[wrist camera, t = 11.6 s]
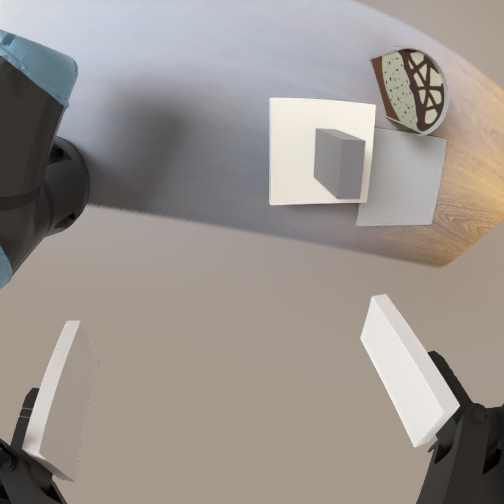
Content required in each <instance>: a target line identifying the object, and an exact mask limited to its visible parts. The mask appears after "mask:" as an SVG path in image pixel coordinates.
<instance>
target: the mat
mask: <svg viewBox="0 0 504 504" xmlns="http://www.w3.org/2000/svg"><path fill="white" fill-rule="evenodd" d="M417 135H418V134H416V133H410V132H403V131H396V130H389V129H381V128H374V139H373V151H372V161H371V171H370V180H369V189H368V197H367V203H359V205H358V212H357V219H356V226H393V225H431V224H432V220H433V216H434V211H435V207H436V202H437V197H438V192H439V187H440V182H441V176H442V171H443V165H444V158H445V151H446V144H447V139H444V138H439V137H434V136H428V135H424V136H417Z"/></svg>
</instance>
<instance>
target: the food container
mask: <svg viewBox="0 0 504 504" xmlns="http://www.w3.org/2000/svg"><path fill="white" fill-rule="evenodd" d="M394 46H397V47H401V48H400V49H396V50H393V51H390V52H387V53H384V54H381V55H378V56H375V57H372V58H369V61H370V64H371V67H372V71H373V74H374V77H375V81H376V84H377V87H378V91H379V94H380V98H381V102H382V106H383V110H384V114H385V117H386V118H388V119H391V120H393V121H395V122H398V123H400V124H402V125H404V126H406V127H409V128H411V129H413V130H415V131H417V132H419V133H420V134H418V135H417V136H424V135H427V134H429V133H431V132H433V131H434V130H435V129H436V128H438V127H439V125H440V124H441V123H442V121H443V120H444V118H445V115H446V113H447V110H448V105H449V89H448V84H447V80H446V78H445V75H444V73H443V71H442V69H441V68H440V66H439V65H438V63H437V62H436V61H435V60H434V59H433V58H432V57H431V56H429V55H428V54H427V53H425V52H424V51H422V50H420V49H418V48H415V47H411V46H407V45H394Z"/></svg>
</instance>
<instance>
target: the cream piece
mask: <svg viewBox="0 0 504 504" xmlns="http://www.w3.org/2000/svg"><path fill="white" fill-rule="evenodd" d="M269 107H270V132H269V203H270V205H291V204H320V203H367V197H368V189H369V180H370V171H371V161H372V151H373V139H374V125H375V108H376V105H373V104H365V103H356V102H346V101H335V100H322V99H304V98H269Z"/></svg>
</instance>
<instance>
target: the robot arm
mask: <svg viewBox="0 0 504 504" xmlns="http://www.w3.org/2000/svg"><path fill="white" fill-rule="evenodd" d="M77 76H78V66H77V64H76V62H75V60H74V59H73V58H71V57H69V56H67V55H65V54H63V53H60V52H58V51H56V50H53V49H51V48H48V47H46V46H44V45H41V44H39V43H36V42H33V41H31V40H28V39H25V38H23V37H20V36H17V35H15V34H12V33H9V32H6V31H3V30H0V290H1V289H2V288H3V287H4V286H5V285H6V284H7V283H8V282H9V281H10V280H11V278H12V276H13V274H14V273H15V272H16V271H17V269H18V268H19V267H20V266H21V264H22V263H23V262H24V261H25V260H26V258H27V257H28V256H29V255H30V253H31V252H32V251H33V250H34V249H35V248H36V247H37V245H38V244H39V243H40V242H41V241H42V239H43V238H44V237H47V236H50V235H53V234H56V233H59V232H62V231H63V230H65V229H67V228H68V227H70V226H71V225H72V224H73V223H74V222H75V220H76V219H77V218H78V217H79V216H80V215H81V213H82V212H83V210H84V208H85V206H86V203H87V200H88V195H89V177H88V172H87V168H86V165H85V163H84V161H83V159H82V157H81V155H80V154H79V152H78V151H77V150H76V149H75V148H74V147H73V146H72V145H71V144H70V143H69V142H67V141H66V140H64V139H62V138H60V137H57V136H56V134H57V131H58V128H59V125H60V123H61V120H62V117H63V114H64V112H65V109H68V106H69V102H68V101H69V98H70V95H71V92H72V90H73V87H74V84H75V82H76V79H77ZM360 339H361V341H362V343H363V344H364V346H365V348H366V350H367V352H368V354H369V356H370V358H371V360H372V362H373V364H374V366H375V368H376V370H377V372H378V374H379V376H380V378H381V379H382V381H383V383H384V385H385V387H386V389H387V391H388V393H389V396H390V398H391V399H392V402H393V404H394V405H395V408H396V410H397V412H398V414H399V416H400V418H401V420H402V422H403V424H404V427H405V429H406V431H407V433H408V435H409V437H410V439H411V442H412V444H413V446H414V447H417V446H420V445H422V444H424V443H427V442H429V441H430V440H431V439H432V438H433V437H434V436H435V435H436V436H437V439H438V440H437V441H436V442H435V443H434V444H433V445H432V446H431V447H430V449H429V451H428V452H431V451H432V450H433V449H434V451H433V455H432V458H431V462H430V465H429V468H428V472H427V475H426V478H425V481H424V484H423V487H422V489H421V492H420V495H419V498H418V500H417V503H416V504H504V404H503V405H502V406H501V407H494V408H485V407H484V406H483V405H480V404H479V403H473V402H472V401H471V399H470V398H469V396H468V395H467V393H466V392H465V390H464V388H463V387H462V385H461V384H460V382H459V381H458V379H457V377H456V376H454V373H453V371H452V370H451V369H450V368H449V365H448V364H447V362H446V361H445V359H444V358H443V357H442V356H441V355H439V354H438V353H437V352H435V351H431V352H428V353H427V352H426V351H425V349H424V347H423V346H422V344H421V343H420V342H419V340H418V339H417V337H416V336H415V334H414V333H413V331H412V330H411V328H410V327H409V325H408V324H407V323H406V321H405V320H404V318H403V317H402V315H401V314H400V313H399V311H398V310H397V308H396V307H395V306H394V304H393V303H392V302H391V300H390V299H389V297H388V296H387V295H386V294H383V295H377V296H372V298H371V302H370V306H369V310H368V314H367V318H366V321H365V324H364V328H363V331H362V335H361V338H360ZM99 364H100V360H99V358H98V357H97V354H96V352H95V350H94V348H93V346H92V344H91V342H90V340H89V338H88V336H87V334H86V331H85V329H84V327H83V325H82V322H81V321H67V322H66V324H65V326H64V328H63V331H62V333H61V335H60V338H59V340H58V342H57V345H56V347H55V350H54V352H53V355H52V357H51V360H50V362H49V365H48V368H47V370H46V373H45V376H44V379H43V381H42V384H41V387H40V389H39V388H32V389H31V391H30V392H29V393H28V394H27V396H26V397H25V400H24V403H23V406H22V408H23V409H22V410H21V412H20V417H19V418H18V421H17V425H16V428H15V431H14V435H13V438H12V442H11V445H10V446H9V445H8V444H7V443H6V442H4V441H3V440H2V439H0V504H67V503H66V501H65V499H64V498H63V496H62V494H61V493H60V491H59V489H58V487H57V486H56V484H55V482H54V481H53V480H52V475H53V474H54V475H55V476H56V477H58V478H59V479H62V480H67V481H72V482H76V477H77V470H78V463H79V457H80V451H81V445H82V439H83V434H84V429H85V423H86V418H87V414H88V409H89V405H90V400H91V396H92V391H93V387H94V383H95V379H96V375H97V371H98V367H99ZM500 445H501V447H500Z"/></svg>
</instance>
